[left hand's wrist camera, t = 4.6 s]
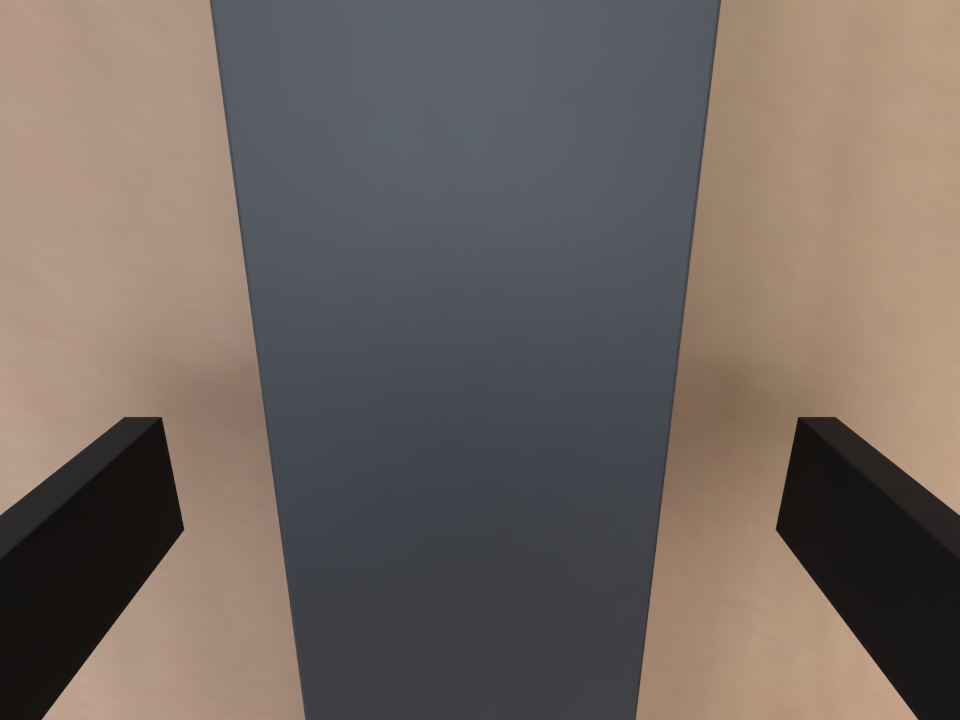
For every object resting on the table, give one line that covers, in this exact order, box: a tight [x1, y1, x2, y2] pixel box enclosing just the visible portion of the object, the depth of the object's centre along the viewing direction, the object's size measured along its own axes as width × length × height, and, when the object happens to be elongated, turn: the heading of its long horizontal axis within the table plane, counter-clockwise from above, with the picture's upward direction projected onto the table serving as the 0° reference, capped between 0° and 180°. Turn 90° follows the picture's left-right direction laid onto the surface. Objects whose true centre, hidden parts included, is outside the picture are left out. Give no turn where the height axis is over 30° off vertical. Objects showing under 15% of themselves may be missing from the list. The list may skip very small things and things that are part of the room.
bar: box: [210, 0, 721, 720], centre depth 10 cm, size 26×5×9 cm, turn 0°
